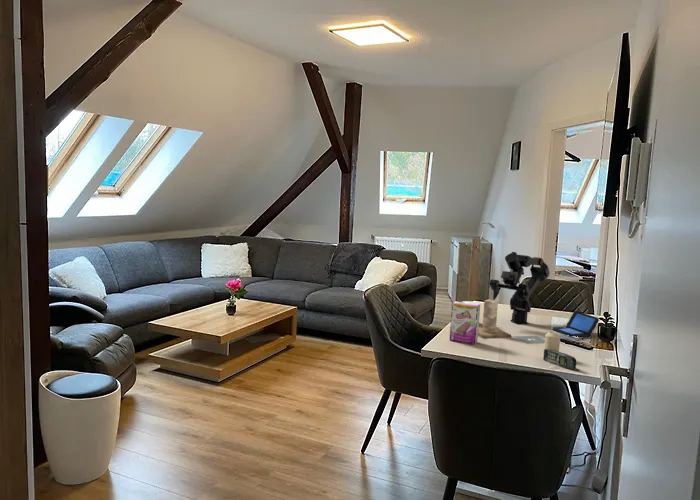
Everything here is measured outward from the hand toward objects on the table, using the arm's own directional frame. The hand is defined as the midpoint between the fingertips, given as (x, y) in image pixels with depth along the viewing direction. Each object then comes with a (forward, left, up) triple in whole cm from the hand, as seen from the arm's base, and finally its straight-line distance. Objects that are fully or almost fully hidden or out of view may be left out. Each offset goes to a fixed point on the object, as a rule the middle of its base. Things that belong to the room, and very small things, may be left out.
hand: (502, 301), depth 250 cm
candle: (+2, +42, -14) cm, 44 cm away
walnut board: (+10, +7, -13) cm, 18 cm away
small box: (+10, -12, -14) cm, 21 cm away
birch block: (+10, +7, -12) cm, 18 cm away
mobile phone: (+5, +53, -14) cm, 55 cm away
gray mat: (-5, +19, -14) cm, 24 cm away
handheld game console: (-33, +10, -14) cm, 37 cm away
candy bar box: (+28, +18, -14) cm, 36 cm away
